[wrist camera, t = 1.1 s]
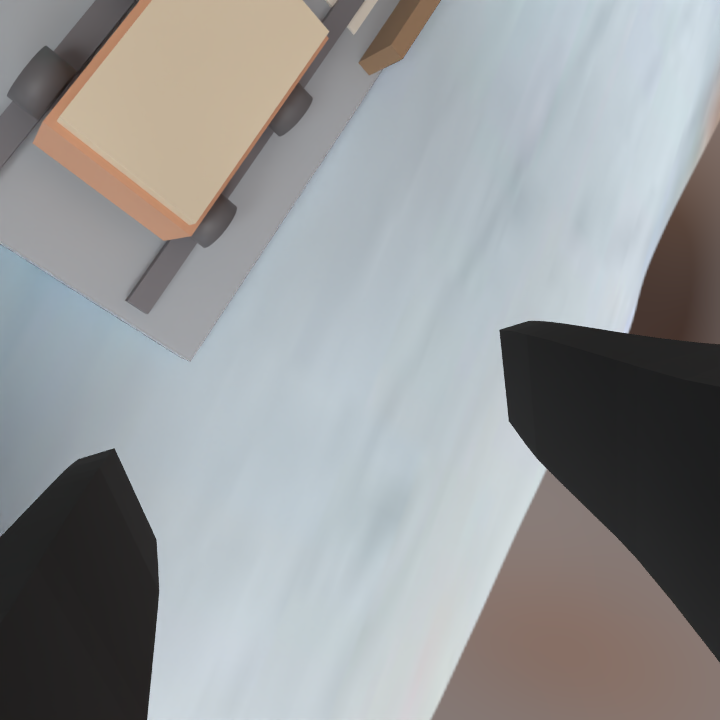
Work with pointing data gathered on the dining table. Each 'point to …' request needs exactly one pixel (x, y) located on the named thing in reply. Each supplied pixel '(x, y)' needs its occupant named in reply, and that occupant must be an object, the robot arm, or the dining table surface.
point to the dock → (245, 190)
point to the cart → (175, 105)
